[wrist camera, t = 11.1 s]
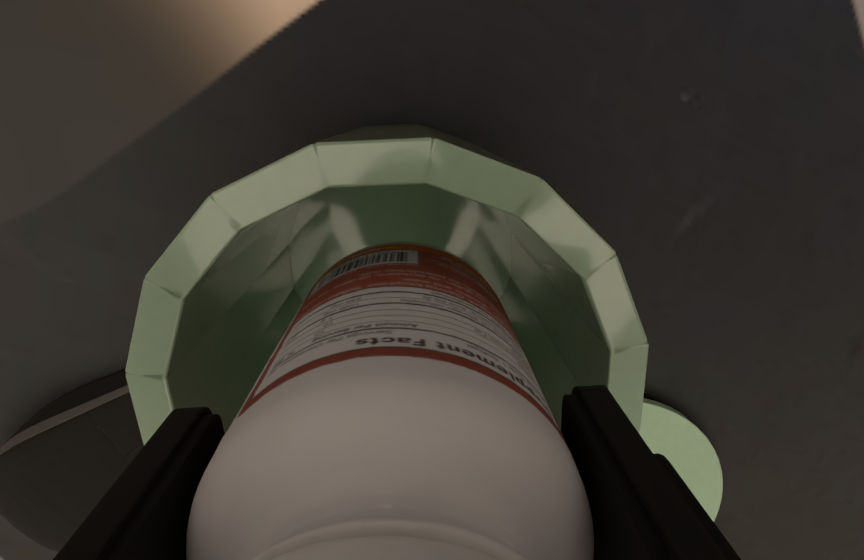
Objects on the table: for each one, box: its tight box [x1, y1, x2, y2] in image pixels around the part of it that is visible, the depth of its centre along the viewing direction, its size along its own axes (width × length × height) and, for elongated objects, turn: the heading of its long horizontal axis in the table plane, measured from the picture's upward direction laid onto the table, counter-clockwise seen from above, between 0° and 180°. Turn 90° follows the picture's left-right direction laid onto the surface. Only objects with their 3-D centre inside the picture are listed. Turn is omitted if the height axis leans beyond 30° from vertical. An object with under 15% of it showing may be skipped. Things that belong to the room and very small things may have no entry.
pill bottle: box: [186, 242, 594, 560], centre depth 10 cm, size 6×6×11 cm
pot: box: [125, 124, 649, 445], centre depth 18 cm, size 12×12×12 cm
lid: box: [639, 398, 723, 522], centre depth 26 cm, size 13×13×6 cm
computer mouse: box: [0, 371, 144, 551], centre depth 24 cm, size 7×12×4 cm, turn 121°
